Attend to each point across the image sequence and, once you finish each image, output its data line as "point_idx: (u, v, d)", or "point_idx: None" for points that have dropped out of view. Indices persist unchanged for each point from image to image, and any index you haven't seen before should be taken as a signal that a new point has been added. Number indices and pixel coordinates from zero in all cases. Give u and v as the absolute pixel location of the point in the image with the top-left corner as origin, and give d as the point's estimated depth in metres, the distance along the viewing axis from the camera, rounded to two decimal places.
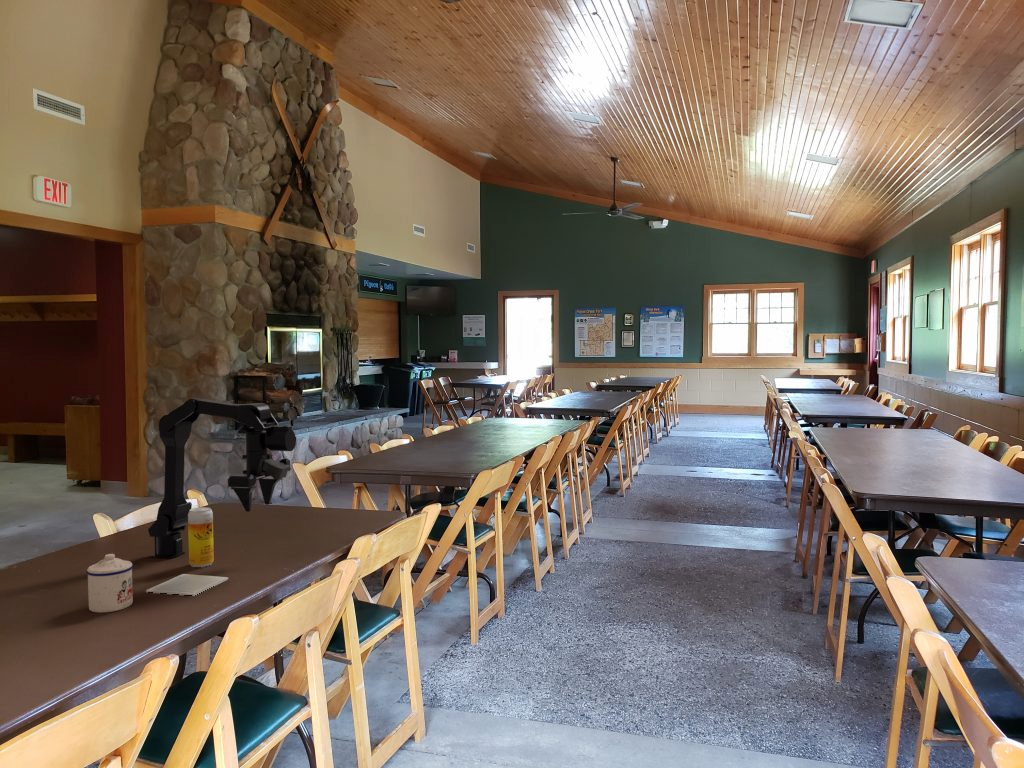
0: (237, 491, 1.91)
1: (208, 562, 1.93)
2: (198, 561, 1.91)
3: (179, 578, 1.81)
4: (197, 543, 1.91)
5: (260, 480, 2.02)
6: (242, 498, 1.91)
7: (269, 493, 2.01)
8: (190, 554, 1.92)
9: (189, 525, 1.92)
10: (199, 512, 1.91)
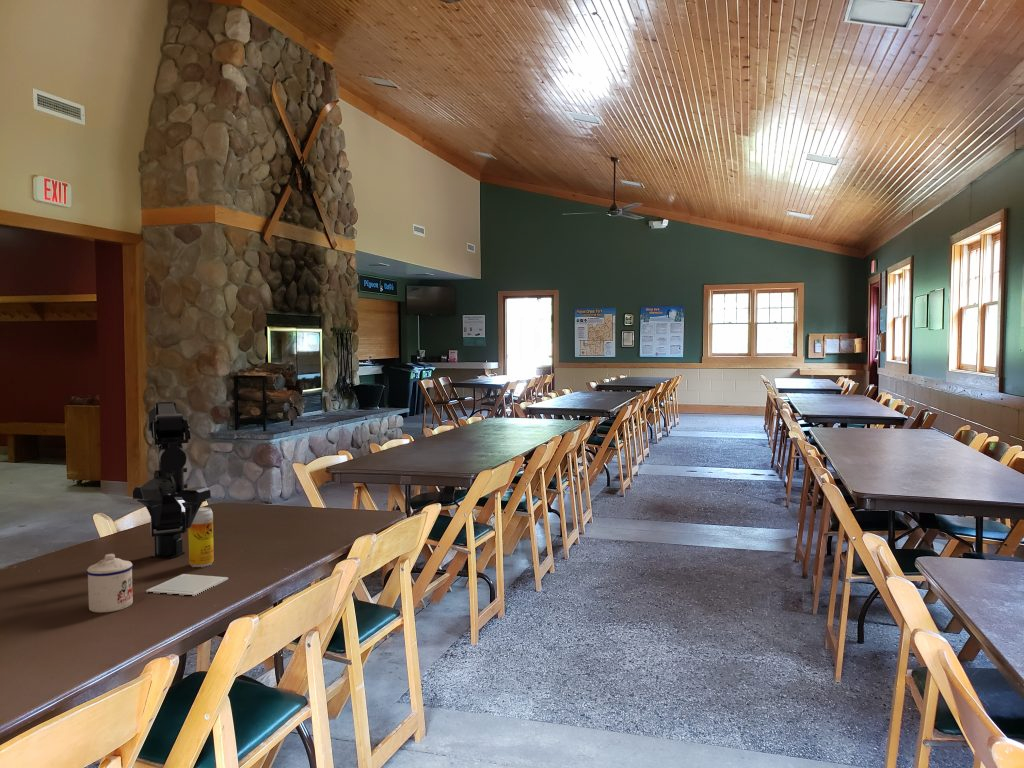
0: None
1: (208, 562, 1.93)
2: (198, 561, 1.91)
3: (179, 578, 1.81)
4: (197, 543, 1.91)
5: None
6: None
7: None
8: (190, 554, 1.92)
9: None
10: (199, 512, 1.91)
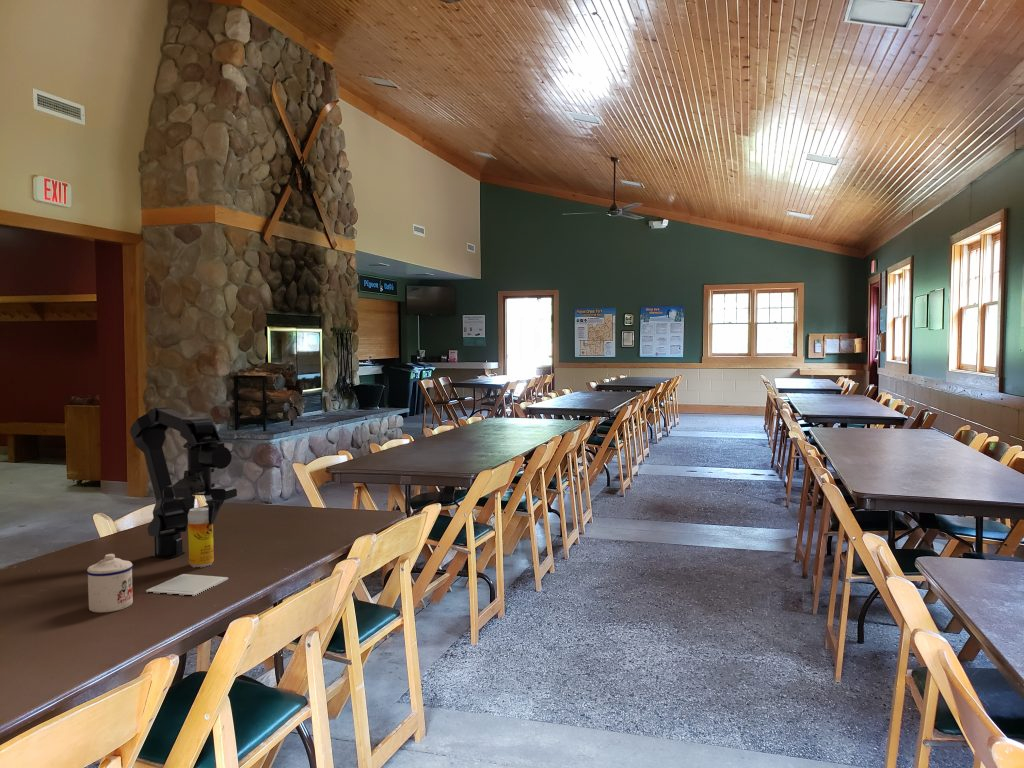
0: None
1: (208, 562, 1.93)
2: (198, 561, 1.91)
3: (179, 578, 1.81)
4: (197, 543, 1.91)
5: None
6: None
7: None
8: (190, 554, 1.92)
9: (189, 525, 1.92)
10: (199, 512, 1.91)
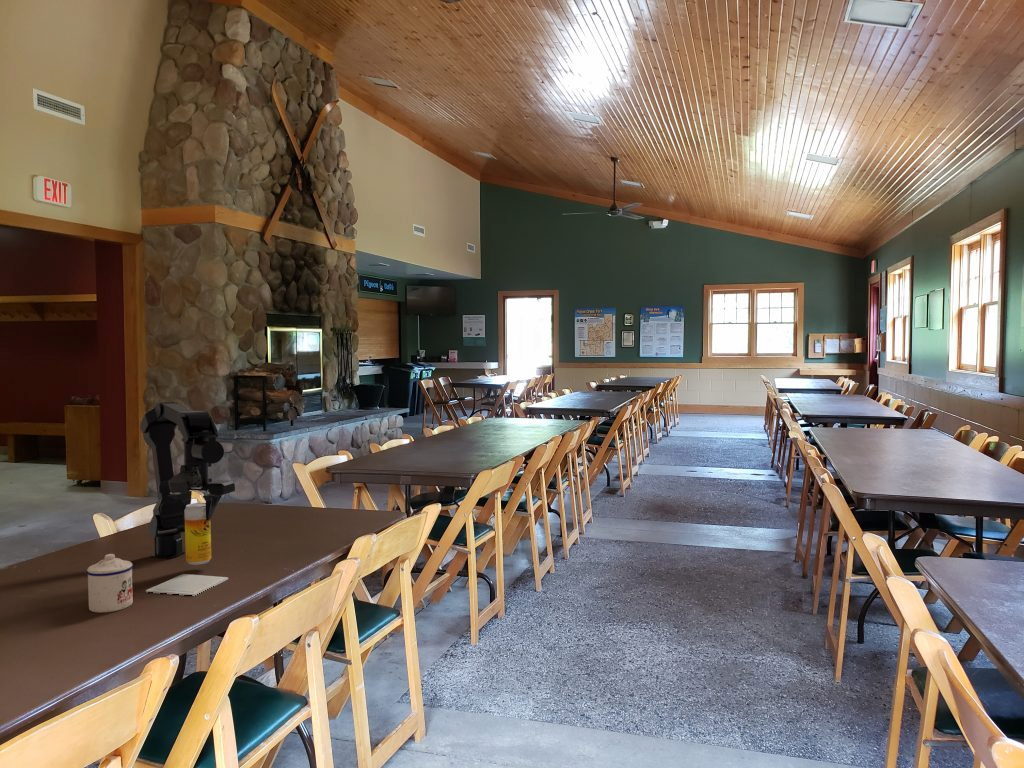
0: None
1: (206, 559, 1.88)
2: (196, 558, 1.87)
3: (179, 578, 1.81)
4: (194, 540, 1.86)
5: None
6: None
7: None
8: (187, 551, 1.87)
9: (186, 521, 1.87)
10: (196, 508, 1.86)
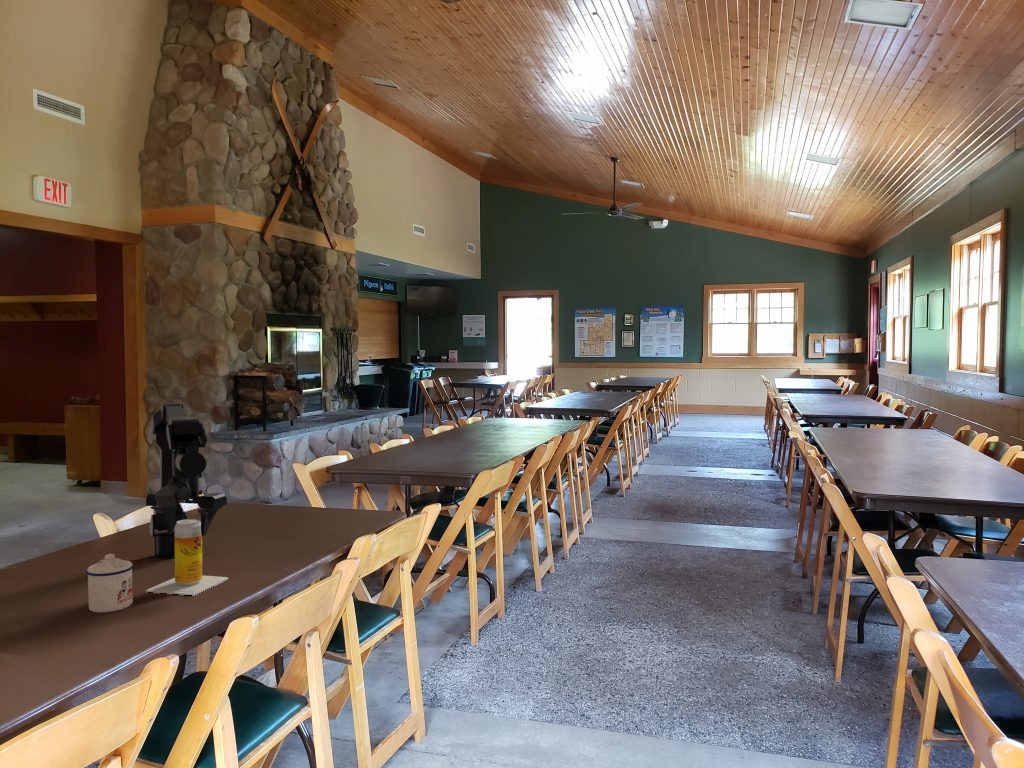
0: None
1: (196, 580, 1.76)
2: (185, 579, 1.74)
3: None
4: (184, 559, 1.74)
5: None
6: None
7: None
8: (176, 571, 1.75)
9: (175, 539, 1.75)
10: (187, 525, 1.74)
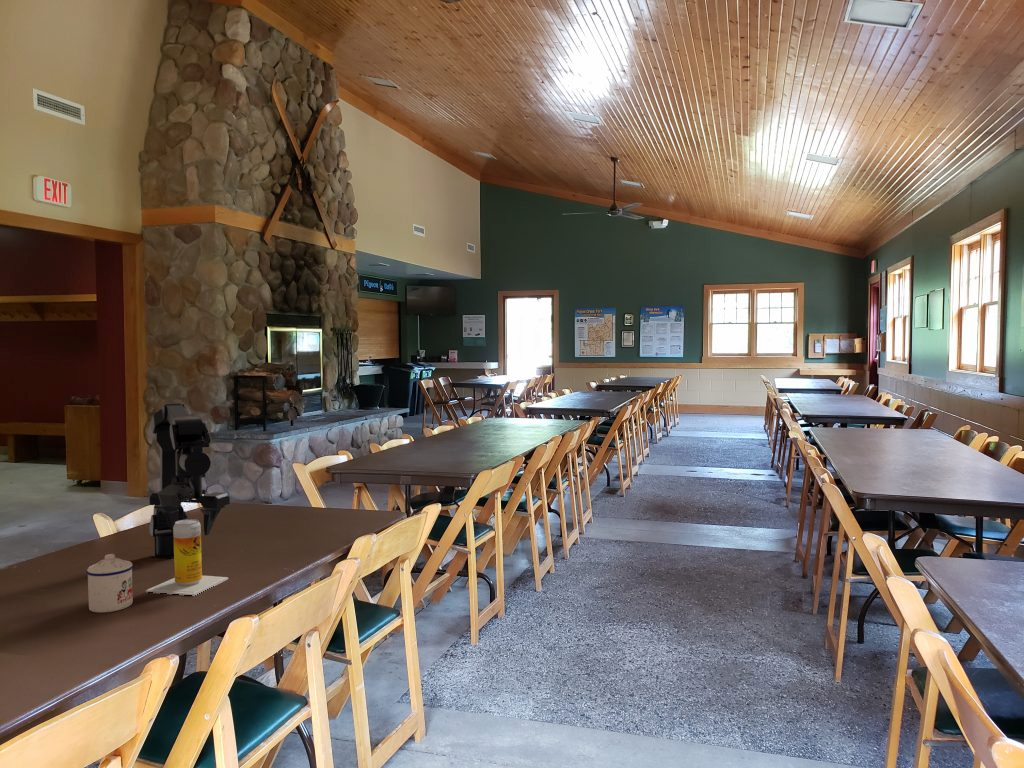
0: None
1: (195, 580, 1.76)
2: (185, 579, 1.74)
3: None
4: (183, 559, 1.74)
5: None
6: None
7: None
8: (176, 571, 1.75)
9: (174, 539, 1.75)
10: (185, 525, 1.74)
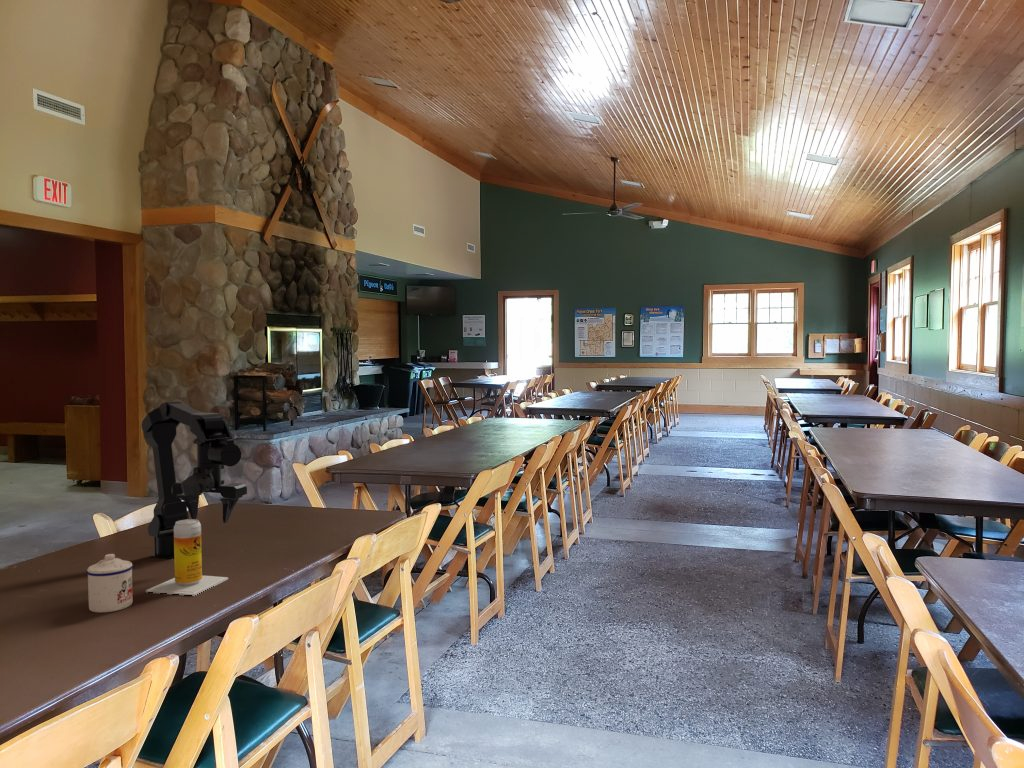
0: None
1: (195, 580, 1.76)
2: (185, 579, 1.74)
3: None
4: (183, 559, 1.74)
5: None
6: None
7: None
8: (176, 571, 1.75)
9: (175, 539, 1.75)
10: (185, 525, 1.74)
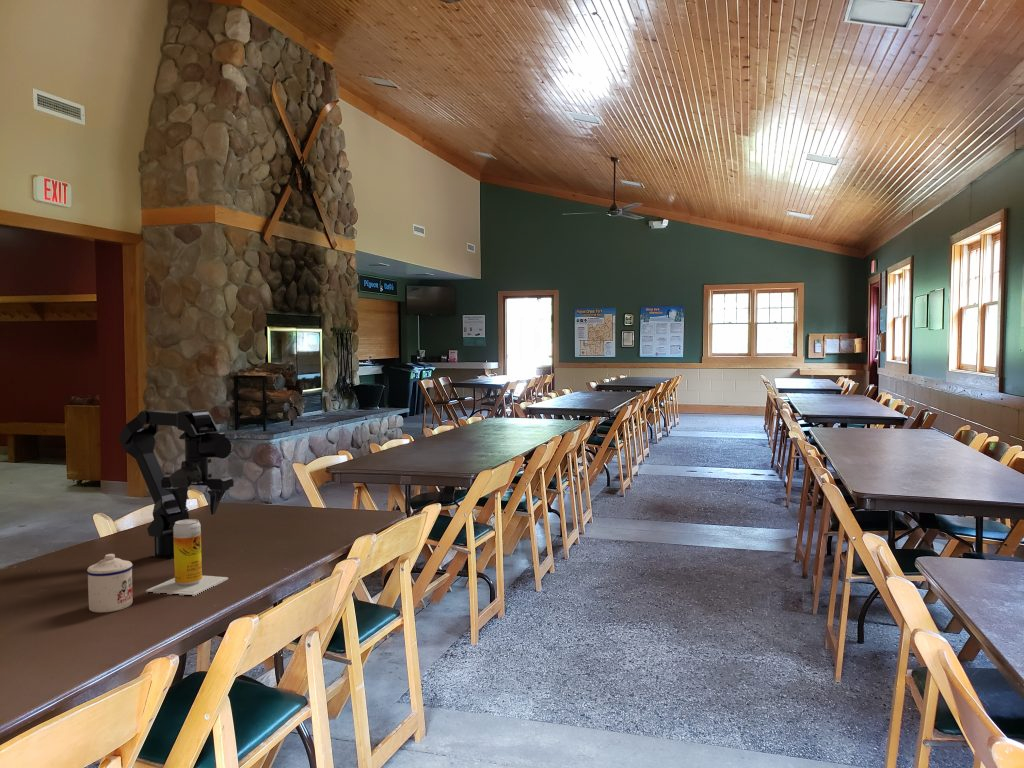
0: None
1: (195, 580, 1.76)
2: (185, 579, 1.74)
3: None
4: (183, 559, 1.74)
5: None
6: None
7: None
8: (176, 571, 1.75)
9: (174, 539, 1.75)
10: (185, 525, 1.74)
